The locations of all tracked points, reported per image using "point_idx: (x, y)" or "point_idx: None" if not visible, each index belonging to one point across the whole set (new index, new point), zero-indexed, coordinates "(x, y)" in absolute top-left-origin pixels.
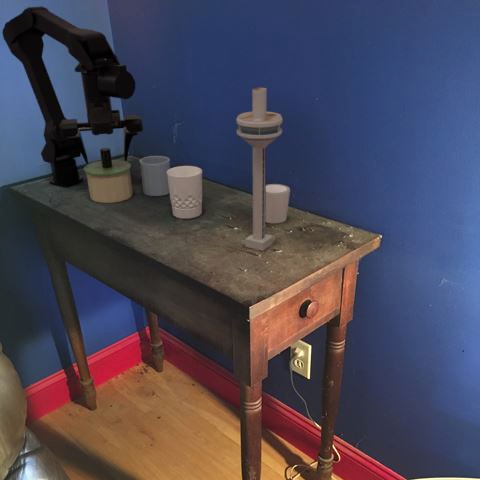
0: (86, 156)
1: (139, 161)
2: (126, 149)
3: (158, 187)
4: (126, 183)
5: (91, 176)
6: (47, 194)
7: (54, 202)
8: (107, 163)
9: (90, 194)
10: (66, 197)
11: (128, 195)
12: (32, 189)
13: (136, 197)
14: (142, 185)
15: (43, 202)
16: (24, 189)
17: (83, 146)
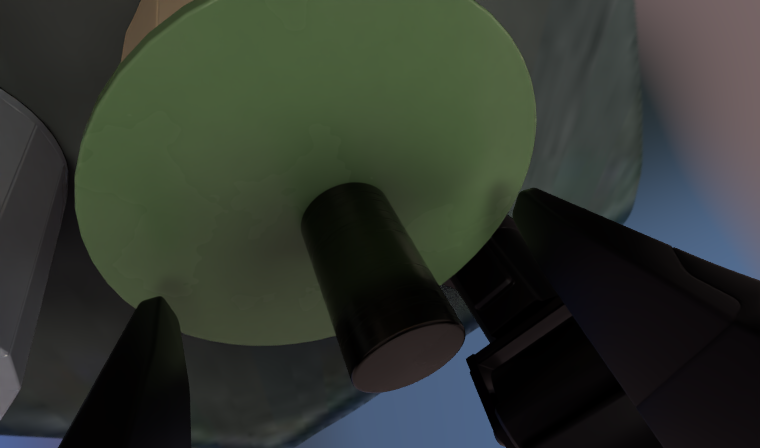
0: (578, 227)
1: (5, 343)
2: (99, 435)
3: None
4: None
5: None
6: (574, 133)
7: (588, 17)
8: (351, 213)
9: None
10: None
11: (131, 21)
12: (597, 184)
13: (68, 33)
14: (26, 151)
15: (626, 26)
16: (617, 184)
17: (695, 302)
